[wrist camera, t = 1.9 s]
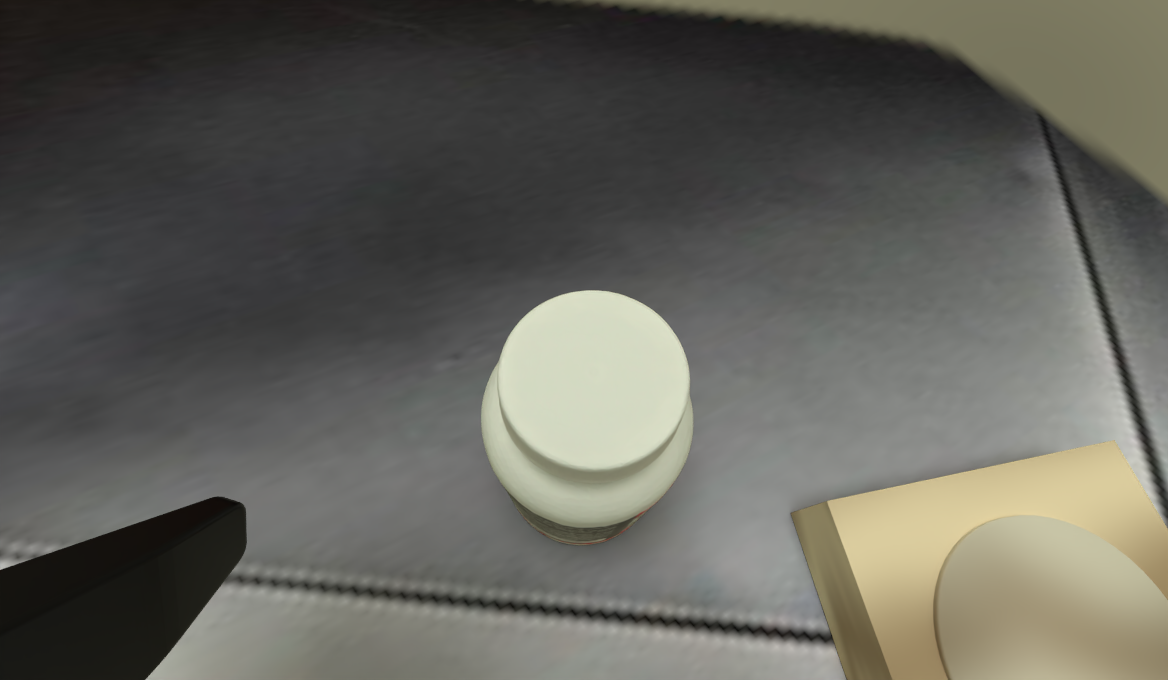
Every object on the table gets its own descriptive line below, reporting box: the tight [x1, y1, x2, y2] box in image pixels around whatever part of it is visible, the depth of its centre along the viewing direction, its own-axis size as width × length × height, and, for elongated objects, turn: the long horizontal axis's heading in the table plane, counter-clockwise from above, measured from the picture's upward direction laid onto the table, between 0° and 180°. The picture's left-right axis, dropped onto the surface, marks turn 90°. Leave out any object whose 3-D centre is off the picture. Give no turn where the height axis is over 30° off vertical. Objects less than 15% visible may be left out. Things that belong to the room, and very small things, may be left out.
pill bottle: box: [481, 291, 693, 545], centre depth 16 cm, size 5×5×10 cm
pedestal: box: [791, 440, 1168, 680], centre depth 17 cm, size 10×10×3 cm
